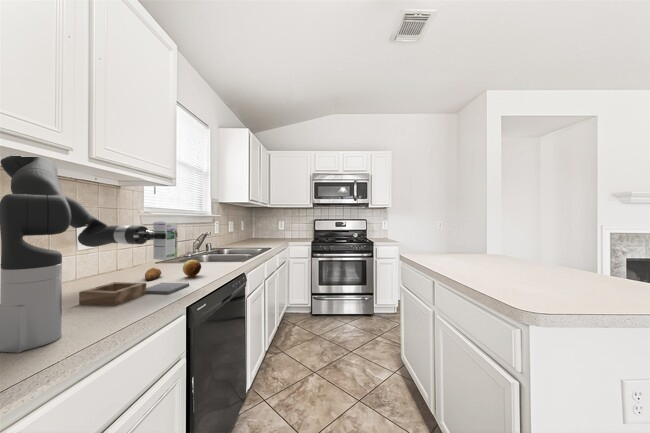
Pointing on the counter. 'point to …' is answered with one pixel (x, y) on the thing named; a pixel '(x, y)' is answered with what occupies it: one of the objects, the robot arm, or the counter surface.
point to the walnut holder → (112, 293)
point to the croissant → (152, 274)
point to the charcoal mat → (166, 288)
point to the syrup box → (165, 240)
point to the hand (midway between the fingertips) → (171, 235)
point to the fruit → (192, 268)
